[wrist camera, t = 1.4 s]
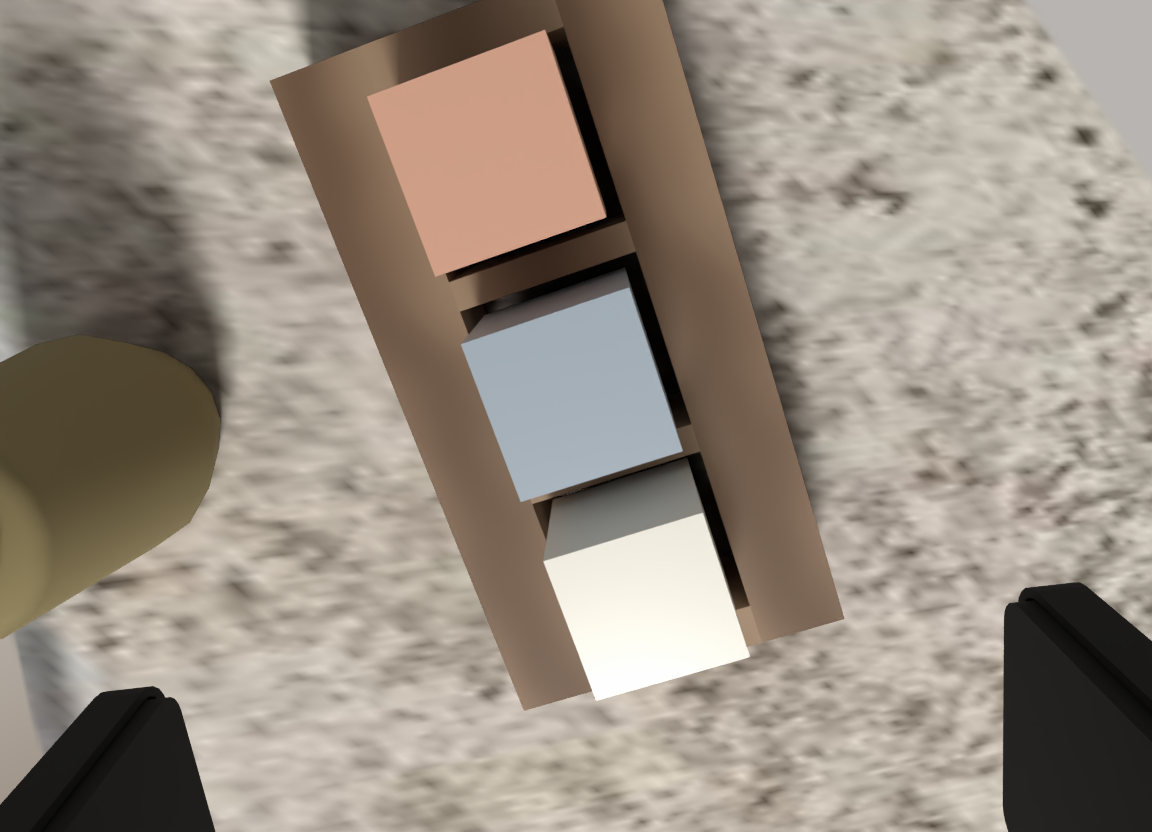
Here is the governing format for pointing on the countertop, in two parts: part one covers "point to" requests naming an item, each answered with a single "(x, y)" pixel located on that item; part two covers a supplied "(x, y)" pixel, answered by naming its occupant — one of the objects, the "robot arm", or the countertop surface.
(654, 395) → the key slate
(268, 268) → the countertop surface
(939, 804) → the countertop surface
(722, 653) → the key cream
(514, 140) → the peach cube
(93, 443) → the squeeze bottle
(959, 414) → the countertop surface
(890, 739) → the countertop surface
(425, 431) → the wooden compartment tray
